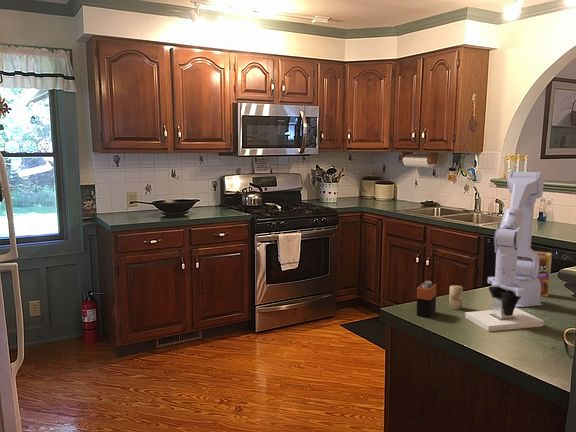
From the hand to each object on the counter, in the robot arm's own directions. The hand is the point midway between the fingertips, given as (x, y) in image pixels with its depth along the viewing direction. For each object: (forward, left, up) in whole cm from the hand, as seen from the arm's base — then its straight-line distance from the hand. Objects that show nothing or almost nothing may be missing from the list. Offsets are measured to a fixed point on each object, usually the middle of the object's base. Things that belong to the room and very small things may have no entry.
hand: (503, 312), depth 148 cm
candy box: (-28, -22, -3) cm, 36 cm away
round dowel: (+7, -15, -3) cm, 17 cm away
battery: (+19, -12, -3) cm, 23 cm away
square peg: (0, 0, -3) cm, 3 cm away
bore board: (0, 0, -3) cm, 3 cm away
